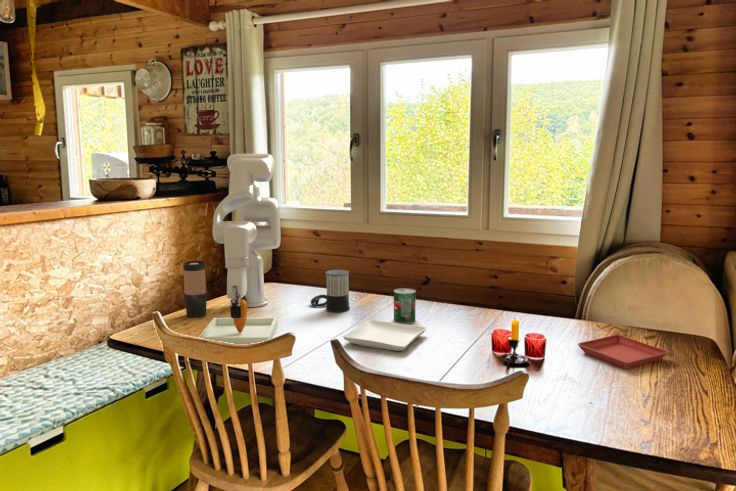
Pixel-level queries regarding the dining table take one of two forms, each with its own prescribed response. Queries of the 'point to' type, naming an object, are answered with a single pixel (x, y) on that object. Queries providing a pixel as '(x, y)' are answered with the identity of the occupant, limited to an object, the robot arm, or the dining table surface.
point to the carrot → (241, 321)
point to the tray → (252, 331)
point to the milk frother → (335, 292)
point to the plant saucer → (622, 351)
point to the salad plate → (384, 335)
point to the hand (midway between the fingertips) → (239, 313)
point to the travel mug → (195, 288)
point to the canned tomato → (404, 305)
